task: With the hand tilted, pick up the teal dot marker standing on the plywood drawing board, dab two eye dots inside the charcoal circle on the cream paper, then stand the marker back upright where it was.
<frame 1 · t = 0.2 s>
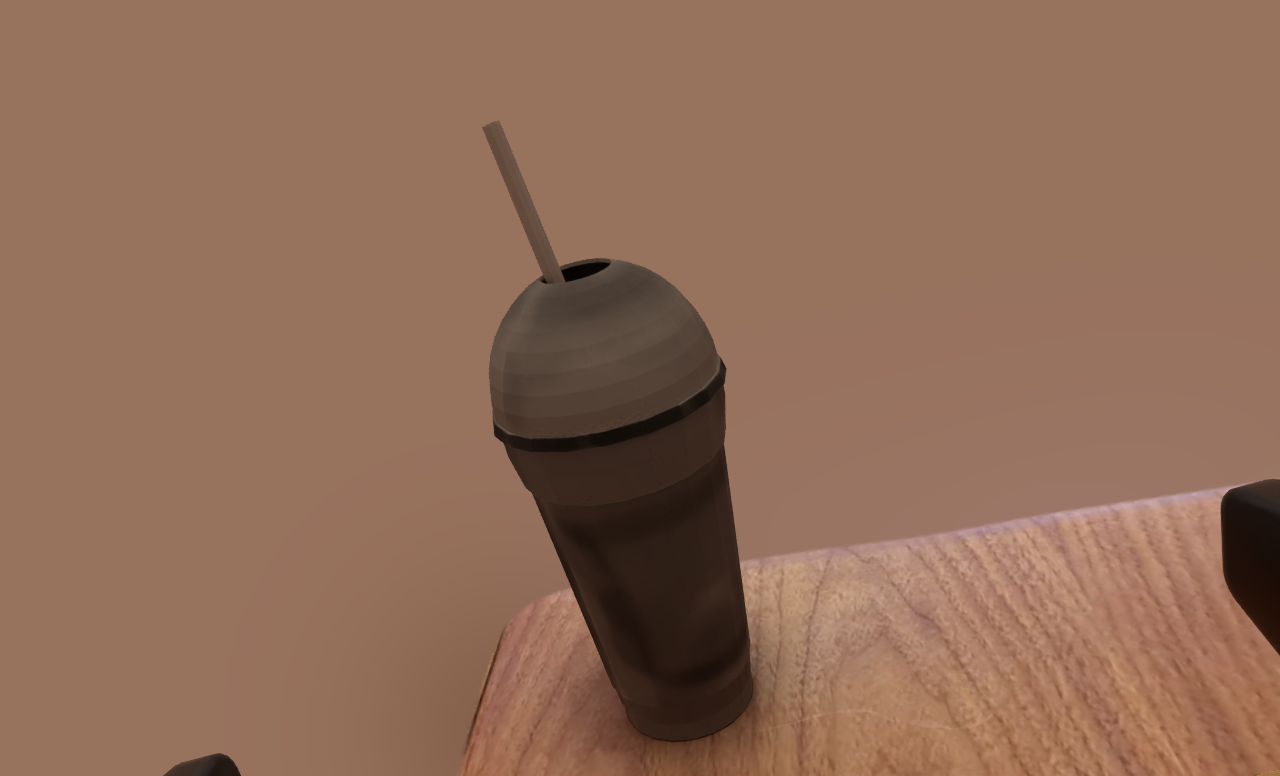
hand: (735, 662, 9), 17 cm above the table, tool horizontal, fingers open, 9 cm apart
beverage cup: (690, 698, 34), on the table
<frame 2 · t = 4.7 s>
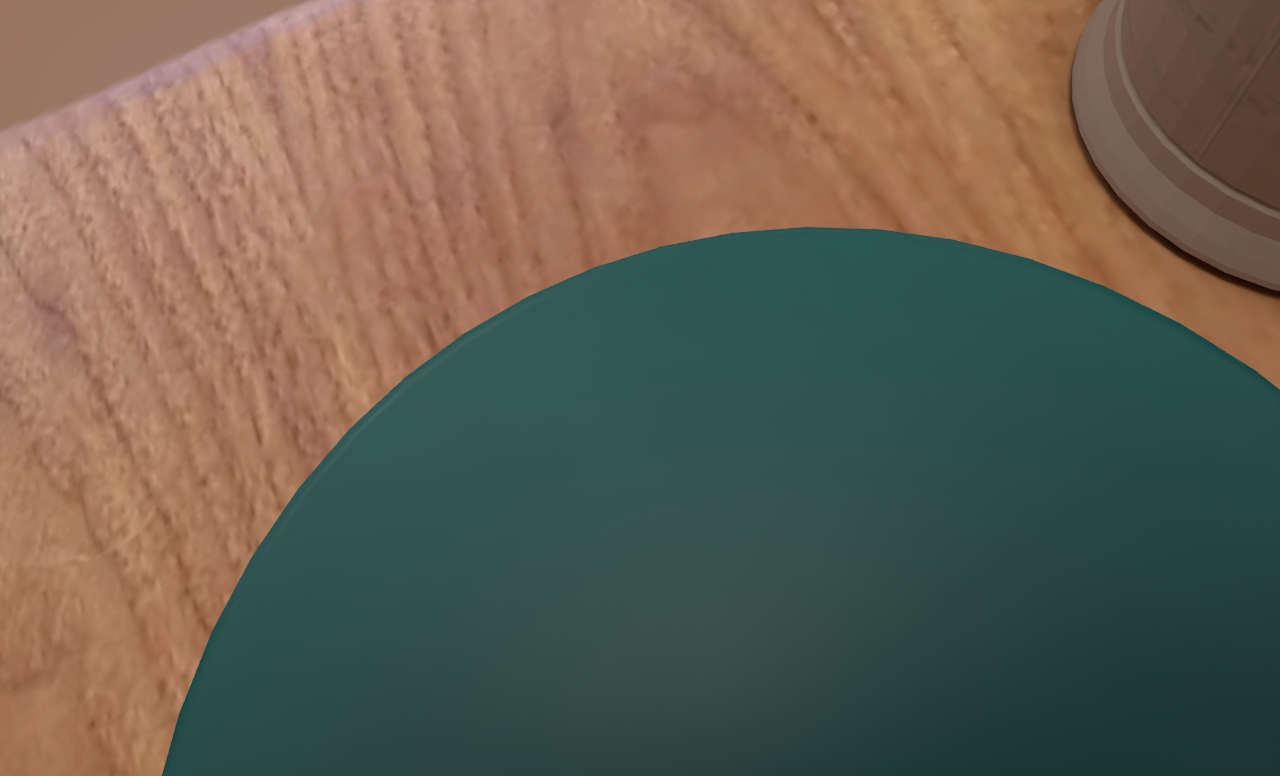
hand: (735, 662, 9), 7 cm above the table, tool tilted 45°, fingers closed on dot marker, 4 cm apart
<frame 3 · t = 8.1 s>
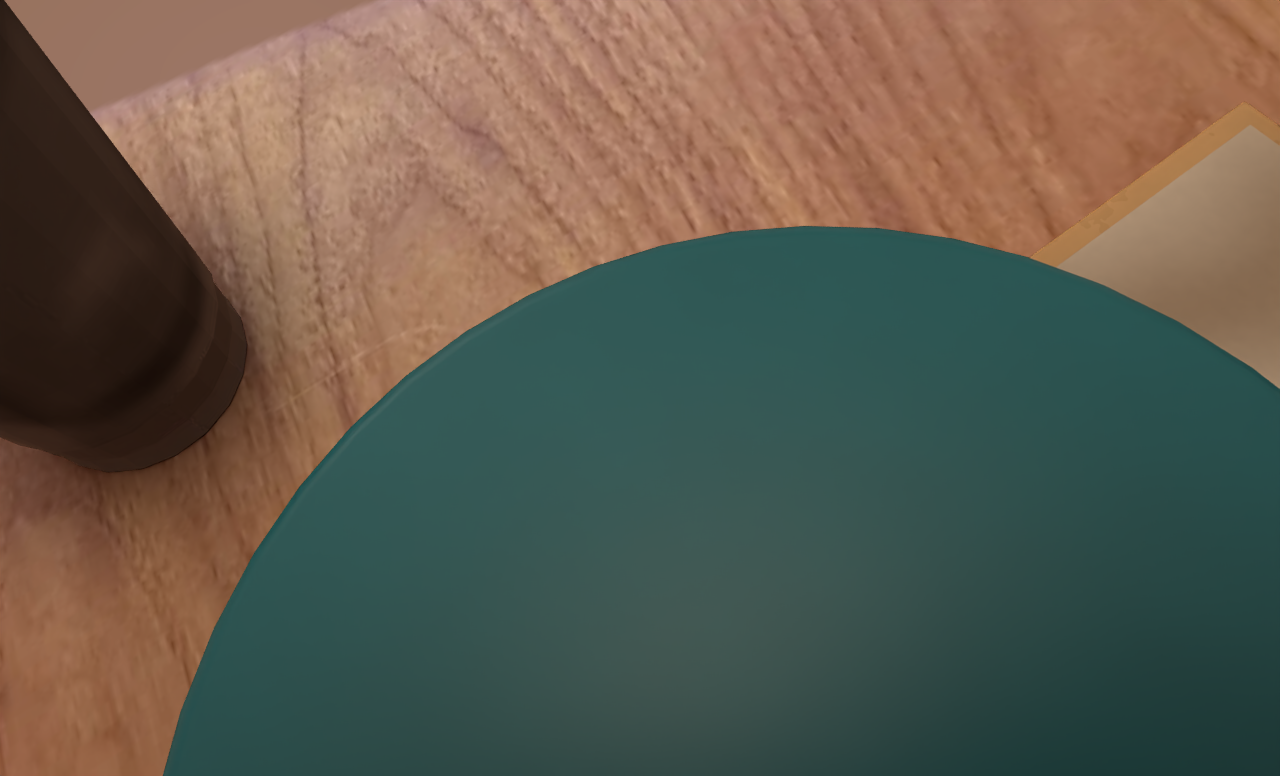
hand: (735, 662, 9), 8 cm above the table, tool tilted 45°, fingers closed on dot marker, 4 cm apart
beverage cup: (148, 375, 21), on the table
drawing board: (1219, 746, 15), on the table
when the fingers open (7 cm above the table, at t = 14.5 s): dot marker stays where it is, resting on drawing board.
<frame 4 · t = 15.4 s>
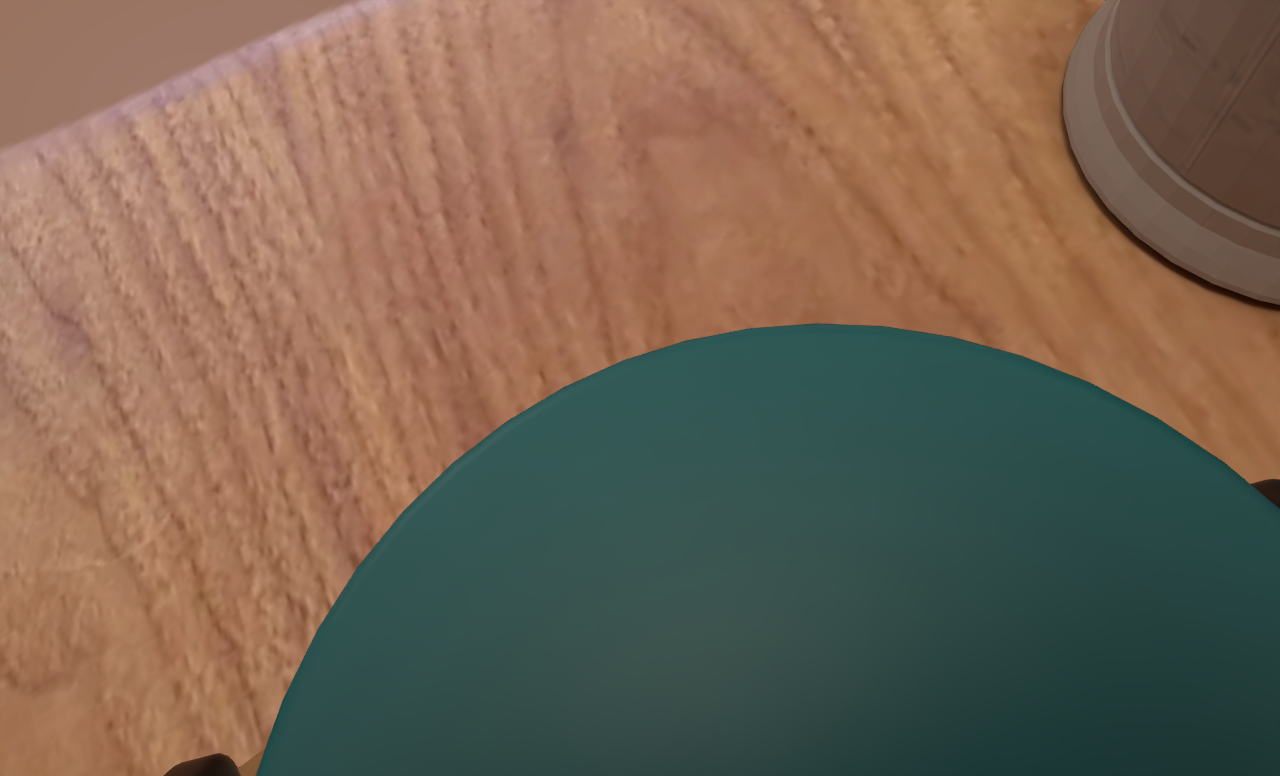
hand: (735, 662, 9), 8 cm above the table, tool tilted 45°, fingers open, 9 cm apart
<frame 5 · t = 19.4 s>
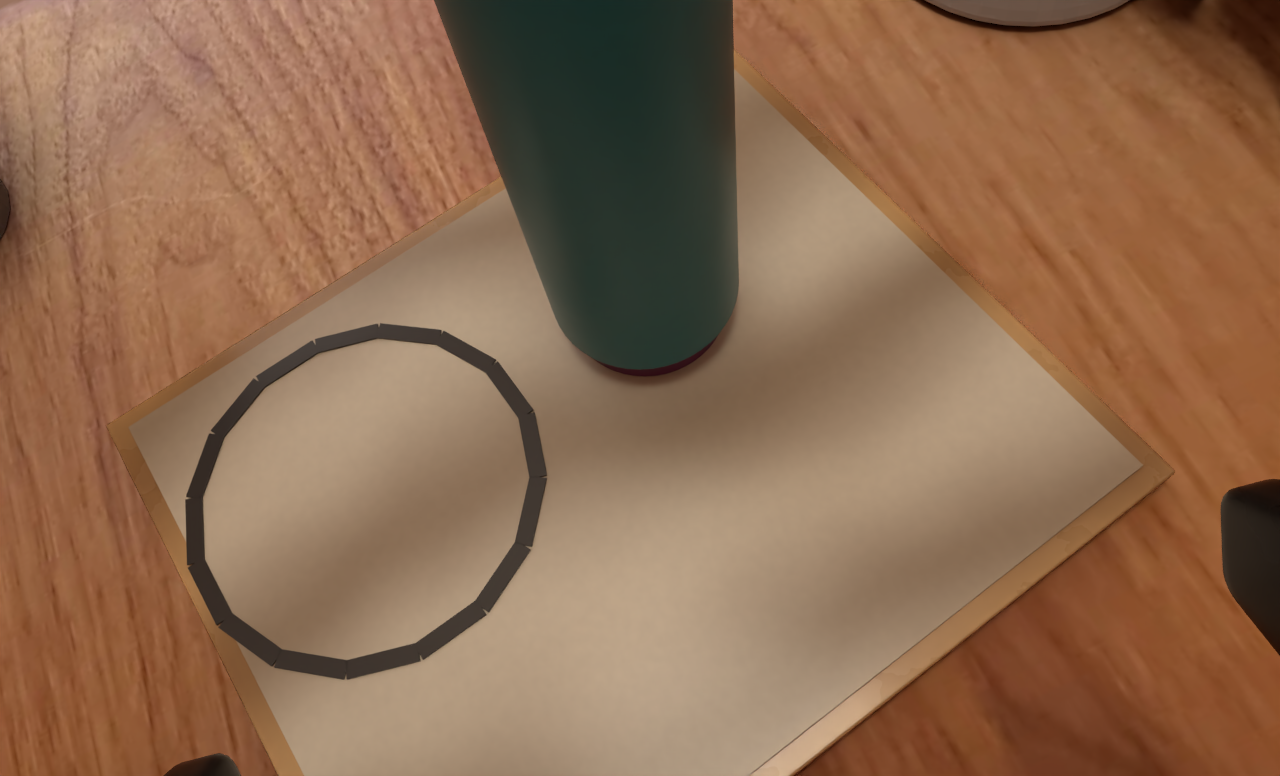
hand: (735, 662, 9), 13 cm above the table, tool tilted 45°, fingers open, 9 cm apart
dot marker: (648, 306, 24), point 1 cm above the table, touching drawing board
drawing board: (606, 455, 23), on the table
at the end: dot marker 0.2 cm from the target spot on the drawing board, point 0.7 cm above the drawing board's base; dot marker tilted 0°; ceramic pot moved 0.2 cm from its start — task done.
